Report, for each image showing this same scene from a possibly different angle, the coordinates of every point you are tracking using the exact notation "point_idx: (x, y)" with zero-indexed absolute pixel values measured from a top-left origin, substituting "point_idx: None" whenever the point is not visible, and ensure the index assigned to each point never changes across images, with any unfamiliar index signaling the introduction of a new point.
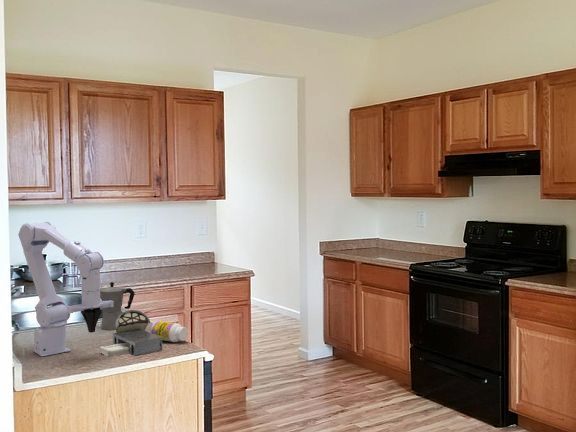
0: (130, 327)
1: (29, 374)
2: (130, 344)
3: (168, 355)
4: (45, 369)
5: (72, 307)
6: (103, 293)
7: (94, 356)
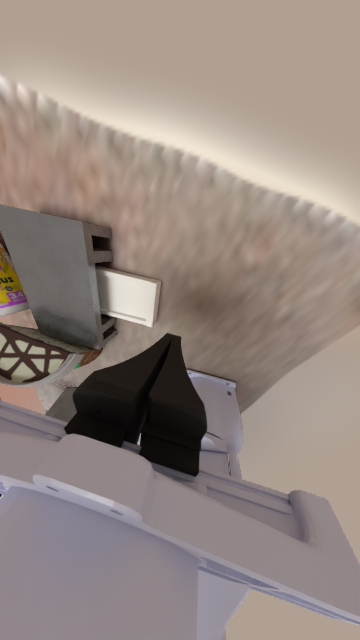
0: (53, 341)
1: (355, 321)
2: (95, 257)
3: (32, 131)
4: (304, 321)
5: (354, 607)
6: None
7: (177, 310)
